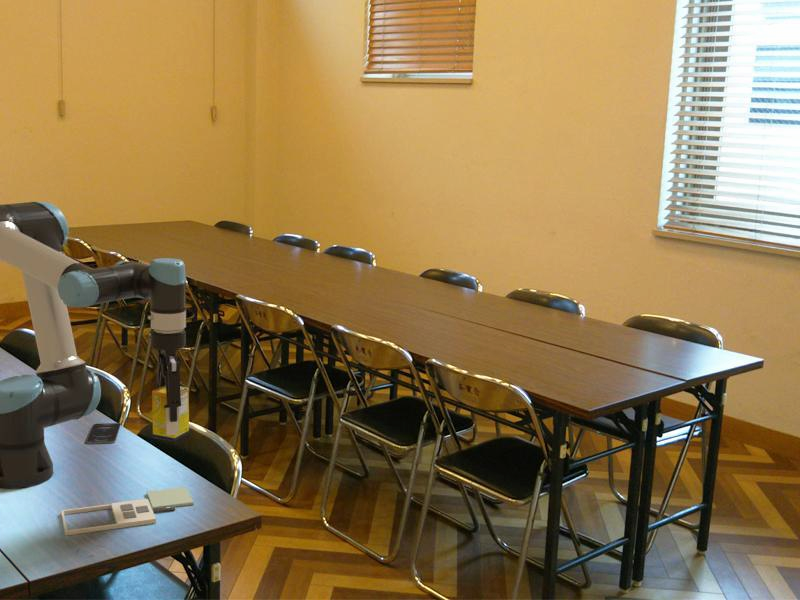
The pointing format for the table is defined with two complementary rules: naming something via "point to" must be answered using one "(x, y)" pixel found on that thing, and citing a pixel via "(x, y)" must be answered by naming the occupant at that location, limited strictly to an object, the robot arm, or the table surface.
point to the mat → (170, 497)
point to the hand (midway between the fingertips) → (169, 427)
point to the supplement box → (160, 414)
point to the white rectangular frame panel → (119, 515)
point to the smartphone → (103, 433)
